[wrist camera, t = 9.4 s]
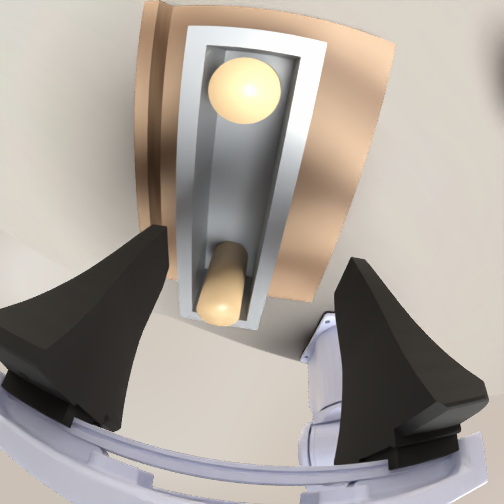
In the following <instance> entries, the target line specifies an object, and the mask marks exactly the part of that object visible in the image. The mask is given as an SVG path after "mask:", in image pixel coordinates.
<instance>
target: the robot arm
mask: <svg viewBox="0 0 504 504" xmlns="http://www.w3.org/2000/svg"><path fill="white" fill-rule="evenodd" d="M168 270H169V251H168V233H167V226H161V225H155V224H152V225H151V226H149V227H148V228H146V229H145V230H144V231H142V232H141V233H140V234H138V235H137V236H135V237H134V238H133V239H131V240H130V241H129V242H127V243H126V244H125V245H123V246H122V247H120V248H119V249H118V250H116V251H115V252H114V253H112V254H111V255H109V256H108V257H106V258H105V259H103V260H102V261H100V262H99V263H98V264H96V265H95V266H93V267H91V268H90V269H88V270H87V271H85V272H83V273H82V274H80V275H78V276H76V277H75V278H73V279H71V280H69V281H67V282H65V283H63V284H61V285H59V286H57V287H56V288H54V289H52V290H50V291H47V292H45V293H43V294H41V295H38V296H36V297H33V298H31V299H29V300H26V301H23V302H20V303H17V304H14V305H11V306H8V307H5V308H2V309H0V361H1V362H2V363H3V364H4V366H5V367H6V368H7V369H8V372H7V374H6V375H5V374H3V373H2V372H1V371H0V448H1V449H2V450H3V451H4V452H5V453H6V454H7V455H8V456H9V457H11V458H12V459H13V460H14V461H15V462H16V463H18V464H19V465H20V466H21V467H22V468H24V469H25V470H26V471H27V472H29V473H30V474H31V475H32V476H34V477H35V478H37V479H38V480H39V481H40V482H42V483H43V484H44V485H46V486H47V487H49V488H50V489H52V490H53V491H55V492H56V493H58V494H59V495H61V496H62V497H64V498H65V499H67V500H69V501H70V502H72V503H74V504H254V503H241V502H231V501H224V500H217V499H209V498H204V497H198V496H192V495H187V494H182V493H178V492H173V491H169V490H164V489H161V488H157V487H153V486H152V483H153V478H154V475H153V474H151V473H148V472H145V471H143V470H140V469H139V468H136V467H134V466H131V465H128V464H125V463H122V462H120V461H117V460H115V459H112V458H110V457H109V455H108V453H107V452H106V451H108V452H111V453H113V454H116V455H119V456H122V457H124V458H128V459H130V460H134V461H137V462H140V463H143V464H146V465H150V466H153V467H157V468H160V469H164V470H169V471H172V472H177V473H181V474H186V475H191V476H195V477H201V478H206V479H212V480H219V481H227V482H235V483H244V484H258V485H276V486H277V485H278V486H303V485H304V486H305V487H306V489H307V492H305V493H302V494H301V499H300V504H450V503H452V502H454V501H455V500H457V499H458V498H460V497H462V496H464V495H466V494H468V493H469V492H471V491H473V490H475V489H476V488H478V487H480V486H482V485H483V484H485V483H487V481H488V476H487V467H486V458H485V451H484V444H483V439H482V433H481V431H479V432H476V433H473V434H470V435H467V436H465V437H462V438H460V439H457V433H459V432H461V426H460V423H462V422H464V421H465V420H467V419H468V418H470V417H472V416H473V415H475V414H476V413H478V412H479V411H480V410H482V409H483V408H484V407H485V406H486V405H487V404H488V402H489V398H488V395H487V391H486V387H485V384H484V382H483V381H482V380H481V379H480V378H478V377H477V376H475V375H474V374H472V373H471V372H469V371H468V370H466V369H465V368H464V367H463V366H461V365H460V364H459V363H458V362H456V361H455V360H454V359H453V358H451V357H450V356H449V355H448V354H447V353H446V352H444V351H443V350H442V349H441V348H440V347H439V346H438V345H437V344H436V343H435V342H434V341H433V340H432V339H431V338H430V337H429V336H428V335H427V334H426V333H425V332H424V331H423V330H422V329H421V328H420V327H419V326H418V325H417V324H416V322H415V321H414V320H413V319H412V318H411V317H410V315H409V314H408V313H407V312H406V311H405V309H404V308H403V307H402V306H401V305H400V303H399V302H398V301H397V300H396V298H395V297H394V296H393V294H392V293H391V292H390V291H389V289H388V288H387V287H386V285H385V284H384V283H383V281H382V280H381V279H380V277H379V276H378V275H377V274H376V272H375V271H374V270H373V269H372V267H371V266H370V265H369V264H368V263H367V261H366V260H365V259H360V258H354V257H351V258H350V260H349V263H348V265H347V267H346V269H345V271H344V274H343V276H342V278H341V280H340V282H339V284H338V286H337V288H336V291H335V293H334V304H335V313H327V314H325V315H324V317H323V318H322V320H321V322H320V324H319V326H318V328H317V330H316V332H315V333H314V335H313V337H312V339H311V341H310V342H309V344H308V346H307V348H306V349H305V351H304V353H303V355H302V356H301V358H300V361H301V362H302V363H308V385H309V388H308V389H309V407H310V409H311V412H312V413H313V421H312V422H308V423H307V424H306V425H305V427H304V428H303V430H302V431H301V433H300V437H299V443H298V458H299V464H300V467H299V466H297V467H296V466H269V465H255V464H245V463H244V464H243V463H235V462H228V461H221V460H214V459H208V458H203V457H197V456H192V455H187V454H183V453H178V452H174V451H170V450H166V449H162V448H158V447H154V446H151V445H147V444H144V443H141V442H137V441H134V440H131V439H128V438H125V437H122V436H120V435H117V434H114V433H111V432H109V431H112V432H115V431H117V430H119V429H120V428H121V422H122V415H123V408H124V402H125V396H126V391H127V386H128V381H129V377H130V373H131V369H132V364H133V361H134V357H135V354H136V350H137V347H138V344H139V340H140V338H141V335H142V332H143V330H144V328H145V326H146V323H147V321H148V319H149V317H150V314H151V312H152V310H153V308H154V306H155V303H156V301H157V299H158V297H159V295H160V292H161V290H162V288H163V285H164V282H165V279H166V276H167V273H168ZM93 425H95V426H93ZM96 426H98V427H100V428H98V427H96ZM101 428H104V429H106V430H109V431H106V430H103V429H101ZM105 450H106V451H105Z"/></svg>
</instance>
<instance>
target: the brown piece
mask: <svg viewBox="0 0 504 504" xmlns="http://www.w3.org/2000/svg"><path fill="white" fill-rule="evenodd" d="M188 26H223V27H237V28H248V29H257V30H265V31H272V32H278V33H284V34H290V35H295V36H300V37H305V38H309V39H314V40H318V41H322V42H326V43H327V46H326V51H325V56H324V61H323V66H322V71H321V75H320V80H319V85H318V89H317V94H316V99H315V103H314V108H313V112H312V117H311V121H310V126H309V130H308V134H307V139H306V143H305V147H304V152H303V156H302V160H301V164H300V169H299V173H298V177H297V181H296V185H295V189H294V193H293V197H292V202H291V206H290V210H289V214H288V218H287V221H286V225H285V229H284V233H283V237H282V241H281V245H280V249H279V253H278V256H277V260H276V264H275V268H274V271H273V275H272V279H271V283H270V286H269V290H268V294H267V296H270V297H277V298H284V299H290V300H297V301H304V302H312V300H313V298H314V295H315V293H316V291H317V288H318V286H319V284H320V281H321V279H322V277H323V274H324V272H325V270H326V267H327V265H328V262H329V260H330V257H331V255H332V252H333V250H334V247H335V245H336V242H337V240H338V237H339V235H340V232H341V229H342V227H343V224H344V221H345V219H346V216H347V213H348V211H349V208H350V205H351V202H352V199H353V197H354V194H355V191H356V188H357V185H358V182H359V179H360V176H361V173H362V170H363V167H364V164H365V161H366V158H367V154H368V151H369V148H370V145H371V141H372V138H373V135H374V131H375V128H376V124H377V121H378V117H379V114H380V110H381V106H382V103H383V99H384V95H385V91H386V87H387V83H388V79H389V74H390V70H391V66H392V61H393V57H394V52H395V47H396V44H394V43H391V42H389V41H386V40H384V39H381V38H379V37H376V36H373V35H371V34H368V33H365V32H362V31H359V30H356V29H353V28H350V27H346V26H343V25H340V24H336V23H332V22H329V21H325V20H321V19H317V18H312V17H308V16H303V15H298V14H293V13H287V12H281V11H275V10H267V9H259V8H250V7H237V6H216V5H191V6H171V5H169V4H167V3H165V2H162V1H160V0H156V1H147V2H144V8H143V14H142V21H141V29H140V37H139V46H138V56H137V68H136V83H135V110H134V147H135V175H136V191H137V205H138V216H139V226H140V233H141V232H142V231H144V230H145V229H146V228H148V227H149V226H151V225H152V224H155V225H161V226H167V233H168V251H169V270H168V273H167V276H166V278H168V279H173V280H178V274H177V250H176V157H177V134H178V117H179V103H180V91H181V80H182V70H183V61H184V53H185V45H186V38H187V31H188Z"/></svg>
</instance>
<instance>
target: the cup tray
mask: <svg viewBox="0 0 504 504" xmlns="http://www.w3.org/2000/svg"><path fill="white" fill-rule="evenodd" d="M326 46H327V43H326V42H322V41H318V40H314V39H309V38H305V37H300V36H295V35H290V34H284V33H278V32H272V31H265V30H257V29H248V28H237V27H223V26H188V31H187V38H186V45H185V53H184V61H183V70H182V80H181V91H180V103H179V117H178V134H177V157H176V250H177V274H178V292H179V306H180V317H184V318H189V319H194V320H199V321H204V322H207V323H209V324H212V325H216V326H232V327H238V328H244V329H251V330H258V326H259V322H260V319H261V315H262V312H263V308H264V305H265V301H266V297H267V294H268V290H269V286H270V283H271V279H272V275H273V271H274V268H275V264H276V260H277V256H278V253H279V249H280V245H281V241H282V237H283V233H284V229H285V225H286V221H287V218H288V214H289V210H290V206H291V202H292V197H293V193H294V189H295V185H296V181H297V177H298V173H299V169H300V164H301V160H302V156H303V152H304V147H305V143H306V139H307V134H308V130H309V126H310V121H311V117H312V112H313V108H314V103H315V99H316V94H317V89H318V85H319V80H320V75H321V71H322V66H323V61H324V56H325V51H326Z"/></svg>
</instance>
